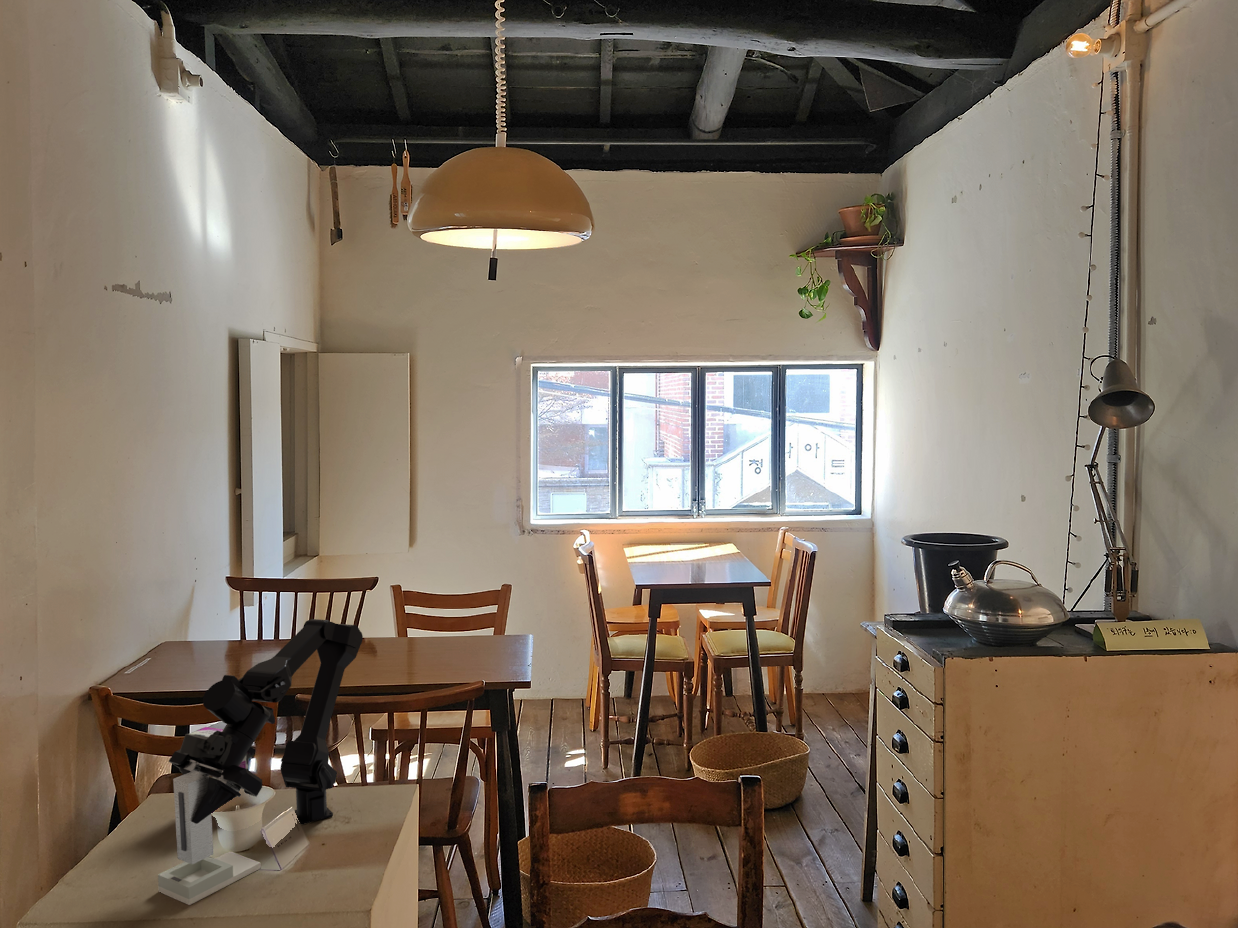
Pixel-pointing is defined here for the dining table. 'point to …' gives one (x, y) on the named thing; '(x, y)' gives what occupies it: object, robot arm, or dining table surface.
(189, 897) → the white tray
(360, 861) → the dining table surface
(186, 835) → the block
